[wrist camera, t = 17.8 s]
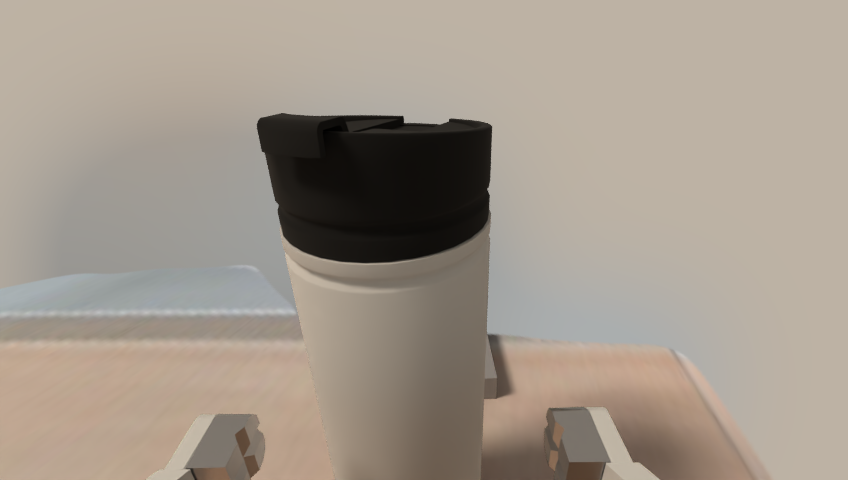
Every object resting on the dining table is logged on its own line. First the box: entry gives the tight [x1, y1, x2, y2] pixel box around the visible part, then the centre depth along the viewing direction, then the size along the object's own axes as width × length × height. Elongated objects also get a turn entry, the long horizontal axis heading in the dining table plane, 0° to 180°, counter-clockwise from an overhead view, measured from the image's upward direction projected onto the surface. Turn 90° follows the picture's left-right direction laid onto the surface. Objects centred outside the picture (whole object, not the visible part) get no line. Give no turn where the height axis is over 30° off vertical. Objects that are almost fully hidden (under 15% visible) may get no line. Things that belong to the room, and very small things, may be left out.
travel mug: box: [257, 113, 492, 480], centre depth 15 cm, size 6×7×20 cm
